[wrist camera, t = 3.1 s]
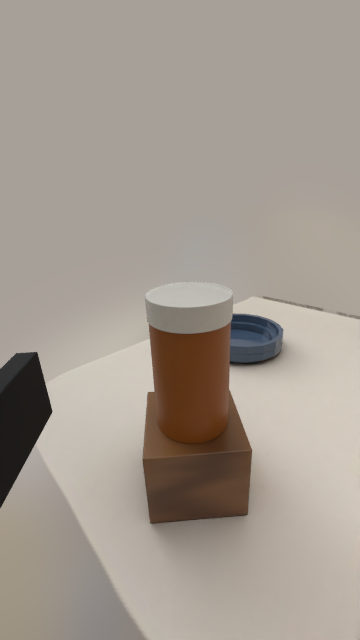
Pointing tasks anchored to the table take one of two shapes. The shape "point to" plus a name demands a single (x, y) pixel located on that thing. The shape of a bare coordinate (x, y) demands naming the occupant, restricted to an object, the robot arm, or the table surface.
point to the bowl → (254, 338)
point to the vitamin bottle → (190, 358)
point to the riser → (196, 471)
